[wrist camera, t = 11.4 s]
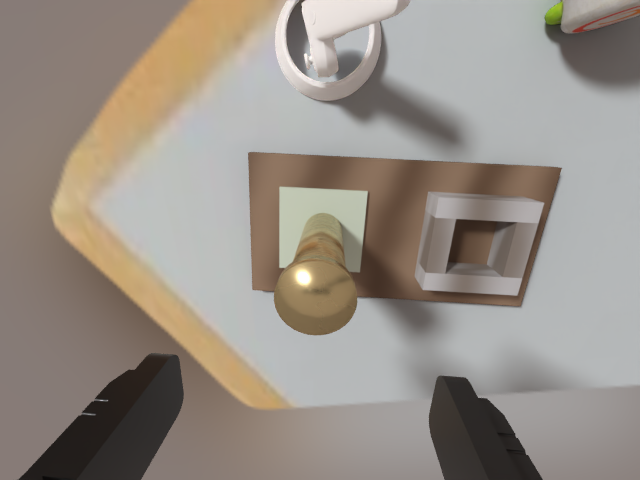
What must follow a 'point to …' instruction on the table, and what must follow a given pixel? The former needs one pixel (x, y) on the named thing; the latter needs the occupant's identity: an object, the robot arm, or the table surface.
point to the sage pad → (311, 201)
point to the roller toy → (591, 13)
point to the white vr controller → (322, 29)
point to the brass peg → (317, 281)
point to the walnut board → (417, 223)
